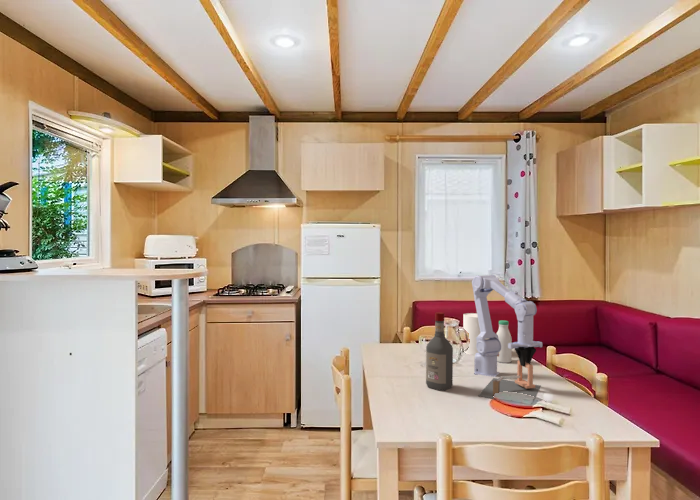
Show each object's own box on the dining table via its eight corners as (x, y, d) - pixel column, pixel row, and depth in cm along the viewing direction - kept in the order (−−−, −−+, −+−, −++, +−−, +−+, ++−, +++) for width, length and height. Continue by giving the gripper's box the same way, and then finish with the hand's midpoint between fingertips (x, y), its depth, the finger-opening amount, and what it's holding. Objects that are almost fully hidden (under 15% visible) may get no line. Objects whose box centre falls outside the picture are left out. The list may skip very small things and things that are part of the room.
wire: (492, 396, 166) (493, 381, 166) (501, 384, 179) (501, 371, 179) (512, 399, 162) (513, 384, 162) (520, 387, 175) (520, 373, 175)
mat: (478, 396, 166) (478, 395, 166) (493, 378, 188) (493, 378, 188) (531, 406, 157) (531, 404, 157) (541, 386, 178) (541, 385, 178)
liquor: (443, 392, 171) (443, 315, 171) (423, 386, 177) (423, 312, 177) (454, 386, 178) (455, 312, 177) (435, 381, 184) (435, 310, 183)
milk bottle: (513, 360, 218) (513, 320, 218) (509, 364, 211) (509, 322, 211) (497, 358, 222) (497, 319, 222) (493, 361, 215) (493, 321, 215)
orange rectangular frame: (526, 388, 172) (526, 365, 172) (514, 382, 179) (514, 360, 179) (535, 387, 173) (535, 365, 173) (523, 381, 180) (523, 360, 180)
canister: (458, 352, 234) (458, 315, 234) (471, 348, 243) (472, 312, 243) (480, 357, 224) (481, 318, 224) (494, 352, 233) (494, 315, 233)
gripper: (515, 334, 170) (515, 369, 170) (547, 333, 173) (547, 367, 174) (505, 331, 177) (504, 364, 177) (536, 329, 180) (535, 362, 180)
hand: (525, 365), depth 176 cm, fingers closed on orange rectangular frame, 2 cm apart
